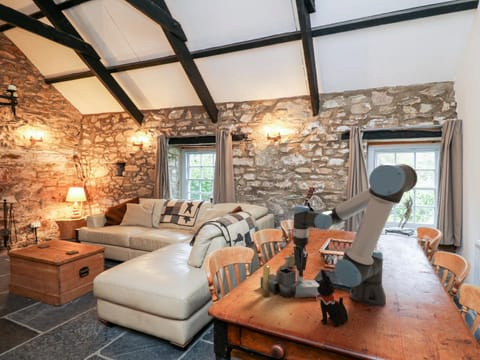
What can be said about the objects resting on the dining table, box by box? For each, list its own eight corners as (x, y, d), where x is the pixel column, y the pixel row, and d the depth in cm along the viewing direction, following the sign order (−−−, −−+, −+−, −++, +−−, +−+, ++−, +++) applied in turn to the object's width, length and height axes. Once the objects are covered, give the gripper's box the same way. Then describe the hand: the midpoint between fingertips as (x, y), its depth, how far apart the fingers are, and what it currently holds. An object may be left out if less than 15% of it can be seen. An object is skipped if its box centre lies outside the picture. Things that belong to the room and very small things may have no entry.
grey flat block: (314, 288, 141) (314, 279, 141) (320, 296, 133) (320, 286, 133) (290, 290, 140) (290, 280, 140) (295, 297, 132) (295, 287, 132)
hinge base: (296, 295, 135) (296, 271, 135) (284, 299, 130) (285, 275, 130) (272, 283, 149) (272, 261, 148) (260, 287, 144) (260, 264, 143)
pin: (270, 295, 134) (270, 266, 134) (265, 297, 133) (266, 268, 132) (266, 293, 137) (266, 264, 136) (261, 295, 135) (261, 266, 134)
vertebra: (294, 272, 159) (288, 254, 161) (279, 275, 166) (273, 258, 168) (311, 263, 175) (305, 247, 177) (297, 267, 181) (291, 251, 183)
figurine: (313, 317, 115) (313, 268, 114) (344, 316, 116) (345, 268, 115) (320, 328, 107) (321, 276, 106) (353, 327, 109) (354, 275, 108)
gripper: (288, 233, 150) (288, 277, 151) (299, 239, 137) (298, 287, 138) (302, 232, 151) (301, 276, 153) (313, 239, 139) (312, 286, 140)
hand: (299, 281), depth 146 cm, fingers closed
